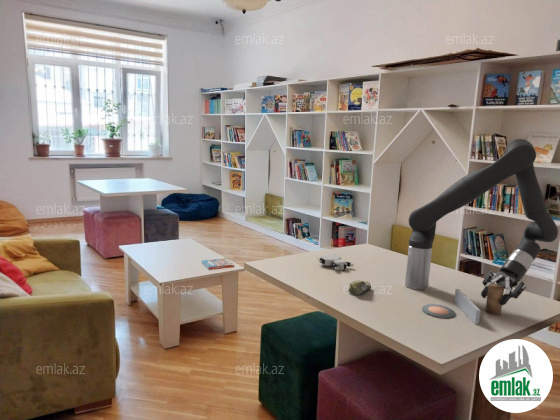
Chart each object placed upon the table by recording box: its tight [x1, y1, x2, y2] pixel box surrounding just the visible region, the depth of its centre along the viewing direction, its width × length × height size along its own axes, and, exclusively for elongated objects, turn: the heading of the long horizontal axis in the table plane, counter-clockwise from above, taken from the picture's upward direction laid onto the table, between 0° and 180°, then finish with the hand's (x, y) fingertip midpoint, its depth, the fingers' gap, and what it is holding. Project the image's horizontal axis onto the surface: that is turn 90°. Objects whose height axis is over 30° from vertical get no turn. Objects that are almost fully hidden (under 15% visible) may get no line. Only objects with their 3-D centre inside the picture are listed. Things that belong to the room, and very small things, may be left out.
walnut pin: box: [484, 283, 505, 316], centre depth 152 cm, size 5×5×10 cm
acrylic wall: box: [453, 288, 481, 325], centre depth 152 cm, size 20×1×5 cm, turn 177°
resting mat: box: [421, 303, 456, 319], centre depth 152 cm, size 11×11×1 cm
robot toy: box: [315, 253, 354, 271], centre depth 200 cm, size 12×4×15 cm
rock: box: [348, 279, 372, 296], centre depth 169 cm, size 11×6×10 cm
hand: (491, 300), depth 152 cm, fingers open, 6 cm apart
